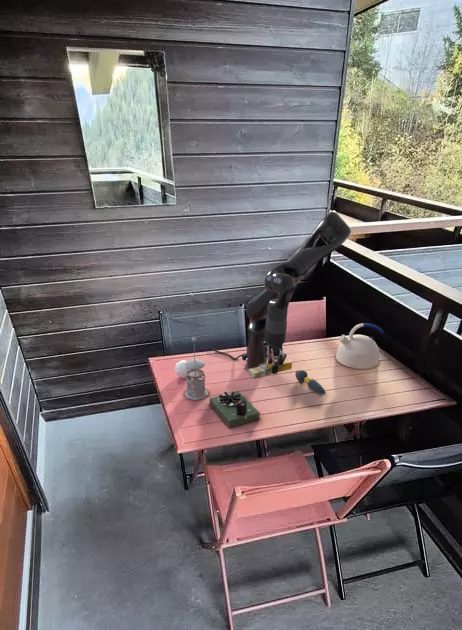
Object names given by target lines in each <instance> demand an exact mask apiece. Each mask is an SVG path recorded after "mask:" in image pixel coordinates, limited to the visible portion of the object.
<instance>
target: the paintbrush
mask: <svg viewBox="0 0 462 630" xmlns="http://www.w3.org/2000/svg"><path fill="white" fill-rule="evenodd" d="M295 378H296V380H297V381H298V382H300V383H301V382H302V383H303V382H304V383H305V384H306V386H308V388H310V389H311V390H313V391H314V392H316V393H318V394H320V395H326V389H325V388H324V387H323V386H322V384H321V383H319V382H318V381H317V380H315V379H314V378H311V377H308V373H307V371H306V370H303V369H297V370H296V371H295Z"/></svg>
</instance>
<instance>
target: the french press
mask: <svg viewBox="0 0 462 630" xmlns="http://www.w3.org/2000/svg"><path fill="white" fill-rule="evenodd" d="M196 341H197V338H196V337H192V338H191V342H196ZM195 345H196V344H193V355H194V356H193V357H194V358H192V359H189V360H186V361H187V362H186V363H185V366H186V367H187V373H186V374H187V375H186V378H185V380H186V381H185V383H186V384H185V385H186V390H185V392H184V397H185V398H187V399H189V400H193V401H194V400H195V401H199V400H203V399H205V398H207V397H208V394H209V392H208V391H207V390H206V375H205V371H204V370H202V369H203V368H204V367H205V366H206V362H204V360H201V359H198V358H196V348H195V347H196V346H195ZM188 368H189V369H192V370H189V371H188Z"/></svg>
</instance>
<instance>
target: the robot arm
mask: <svg viewBox="0 0 462 630" xmlns="http://www.w3.org/2000/svg"><path fill="white" fill-rule="evenodd" d="M351 234H352V229H351V227H350V226H349V224H347V222H346V221H345V220H344V219H343V218H342V217H341V216H340V215H339V213H338V212H337V211H335V210H332V211H330V212H328V213H327V214H326V215H325V216H324V217H323V218H322V220H321V221H320V222H319V223H318V224H317V226H316V227H314V229H313V230H312V232H311V233H310V234H309V235H308V237H307V238H306V239H305V240H304V242H302V243H301V245H300V246H299V247H298V248H297V249H296V250H295V251H294V252H293V253H292V254H291V255H290V256H289V257H288V258H287V259H286V261H284V263H282V264H280V265H278V266H276V267H274V268H272V269H270V270H269V271H268V273H267V274H266V276H265V278H264V281H263V282H264V283H263V284H264V288H263V289H262V290H261V292H260V293H258V294H256V295H255V296H254V297H252V299H250V301H249V302H248V303H247V305H246V309H245V313H246V317H247V318H248V319H249V320H250V321H249V324H248V327H247V346H246V352H245V353H241V354H239V355H238V356H237V357H233V355H231V354H230V353H226V352H223V351H219V350H217V349H216V348H214V347H210V348H209V349H208V350H209V351H211V350H213V351H214V352H216V353H218V354H221V355H224V356H227V357H229V358H231V359H232V360H234V361H235V360H238V359H239V358H241V359H242V361H245V367H246V368H245V369H246V370H247V371H248V372H249V369H252V368H256V367H261V365H267V364H271V363H273V365H272V374H271V375H277V374H278V373H279V372H278V366H280V365H283V363H284V361H285V360H287V359H286V358H287V353H284V352H283V350H284V348H283V346H284V344H285V343H286V337H287V327H288V309H289V304H290V303H291V299H292V296H293V294H294V291H295V289H296V286H297V285H298V284H299V283H300V282H301V281H302V280H303V279H304V278H305V277H306V276H307V274H308V272H309V270H310V269H312V268H313V267H314V266H315V265H316V264H318V263H319V262H321V261H322V260H323V259H325V258H326V257H328V256H329V255H330V254H332V253H333V252H335V251H336V250H337V249H338V248H340V247H341V246H342V245H343V244H344V243H345V242H346V241H347V240H348V239H349V238H350V236H351ZM320 238H321V239H322V241H323V242H324V243H325V245H322V246H316V244H317V242H318V240H319V239H320Z"/></svg>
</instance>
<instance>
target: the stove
mask: <svg viewBox="0 0 462 630" xmlns="http://www.w3.org/2000/svg"><path fill="white" fill-rule="evenodd" d="M233 392H234V394H236V395H238V394H240V395H241V396H240V397H241V400H245V401H246V402H247V413H246V414H245V415H242V416H241V415H237V414H236V406H235V407H226V406H223V405H221V404H220V403H219V395H216V396H213V397H209V401H208V402H209V406H210V407H211V408H212V409H213V410H214V411H215V413H216V414H217V415H218V417H220V418H221V420H222V421H223V423H225V424H226V426H227V427H228V428H233V427H237V426H240V425H244V424H247V423H250V422H254V421H258V420H260V418H261V412H260V411H259V410H258V409H257V408H256V407H255V406H254V405H253V404H252V403H251V402H250V401H249V400H248V399H247V398H246V397H245V396H244V395H243V394H242V393H241V392H240V391H239V390H236V391H233ZM227 393H228V392H227ZM228 394H232V392H229V393H228Z"/></svg>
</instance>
